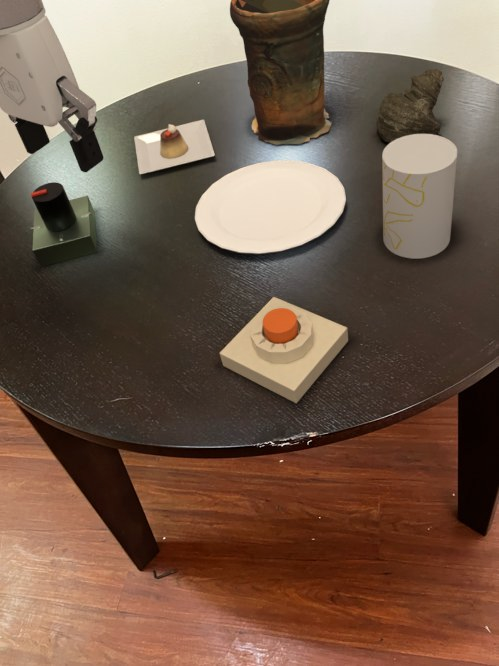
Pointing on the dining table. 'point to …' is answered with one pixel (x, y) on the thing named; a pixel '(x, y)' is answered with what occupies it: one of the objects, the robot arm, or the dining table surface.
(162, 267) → the dining table surface
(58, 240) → the dial panel
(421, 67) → the dining table surface
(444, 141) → the white patterned cylinder
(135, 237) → the dining table surface
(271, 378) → the square push button base
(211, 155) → the dessert
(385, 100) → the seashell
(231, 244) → the plate
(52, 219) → the dial
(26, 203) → the dining table surface
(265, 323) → the button
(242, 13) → the vessel
